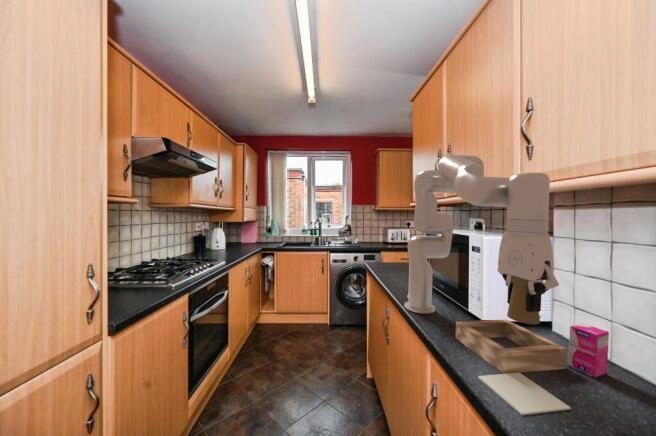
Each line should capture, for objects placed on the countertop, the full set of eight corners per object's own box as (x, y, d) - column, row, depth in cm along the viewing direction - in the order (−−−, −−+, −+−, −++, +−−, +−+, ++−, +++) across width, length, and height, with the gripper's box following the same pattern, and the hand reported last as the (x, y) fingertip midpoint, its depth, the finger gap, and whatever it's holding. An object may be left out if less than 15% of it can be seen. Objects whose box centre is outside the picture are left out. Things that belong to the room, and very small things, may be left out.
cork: (541, 326, 54) (543, 275, 54) (506, 319, 58) (508, 271, 58) (539, 318, 59) (541, 270, 59) (507, 311, 63) (509, 267, 63)
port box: (455, 338, 84) (455, 321, 84) (505, 335, 87) (505, 319, 87) (504, 374, 65) (504, 352, 65) (565, 368, 69) (566, 348, 68)
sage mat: (477, 377, 64) (477, 376, 64) (519, 374, 66) (519, 372, 66) (521, 415, 52) (521, 413, 52) (570, 409, 54) (570, 407, 54)
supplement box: (567, 366, 70) (568, 325, 69) (579, 362, 72) (581, 322, 71) (595, 379, 64) (597, 334, 64) (608, 374, 66) (609, 331, 66)
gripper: (483, 225, 66) (481, 296, 66) (550, 230, 49) (546, 323, 50) (508, 226, 67) (506, 295, 67) (581, 230, 51) (578, 322, 51)
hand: (523, 306), depth 58 cm, fingers closed on cork, 4 cm apart
